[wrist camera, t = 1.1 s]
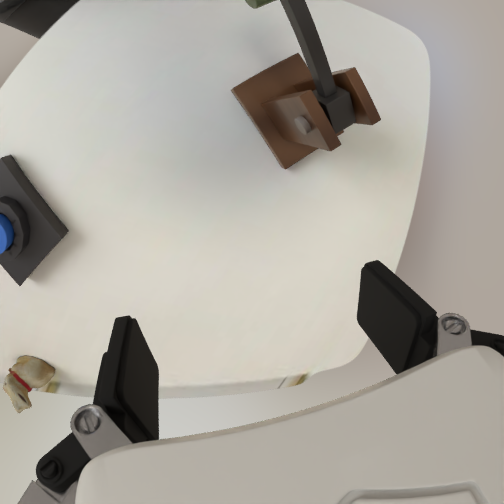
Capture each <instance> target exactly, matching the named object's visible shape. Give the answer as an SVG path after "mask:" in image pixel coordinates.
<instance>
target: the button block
mask: <svg viewBox="0 0 504 504" xmlns="http://www.w3.org/2000/svg"><path fill="white" fill-rule="evenodd" d="M0 214H3V215H5V216H6V217H7V218H8V219H9V220H10V222H11V224H12V226H13V230H14V239H13V242H12V244H11V245H10V246H9V247H8V248H7V249H6V250H5V251H4V252H3V253H1V254H0V264H1V265H2V266H3V268H4V269H5V270H6V271H7V272H8V273H9V275H10V276H11V277H12V278H13V279H14V280H15V281H16V283H17V284H18V285H19V286H21V285H22V283H23V282H24V281H25V280H26V279H27V277H28V276H29V275H30V274H31V273H32V271H33V270H34V269H35V268H36V267H37V266H38V264H39V263H40V262H41V261H42V260H43V259H44V258H45V256H46V255H47V254H48V253H49V252H50V251H51V250H52V249H53V248H54V247H55V245H56V244H57V243H58V242H59V241H60V240H61V239H62V238H63V237H64V236H65V235H66V234H67V232H68V230H67V228H66V227H65V226H64V225H63V224H62V223H61V221H60V220H59V219H58V218H57V216H56V215H55V214H54V213H53V212H52V210H51V209H50V208H49V207H48V205H47V204H46V203H45V201H44V200H43V199H42V198H41V196H40V195H39V194H38V192H37V191H36V190H35V188H34V187H33V186H32V184H31V183H30V182H29V180H28V179H27V177H26V176H25V175H24V173H23V172H22V170H21V169H20V168H19V166H18V165H17V163H16V162H15V160H14V159H13V157H12V156H11V155H8V156H5V157H2V158H1V159H0Z"/></svg>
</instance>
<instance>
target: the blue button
mask: <svg viewBox="0 0 504 504" xmlns="http://www.w3.org/2000/svg"><path fill="white" fill-rule="evenodd" d="M13 239H14V230H13V226H12V224H11V222H10V220H9V219H8V218H7V217H6V216H5V215H3V214H0V254H1V253H3V252H4V251H5V250H6V249H7V248H8V247H9V246H10V245H11V244H12V242H13Z"/></svg>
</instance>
